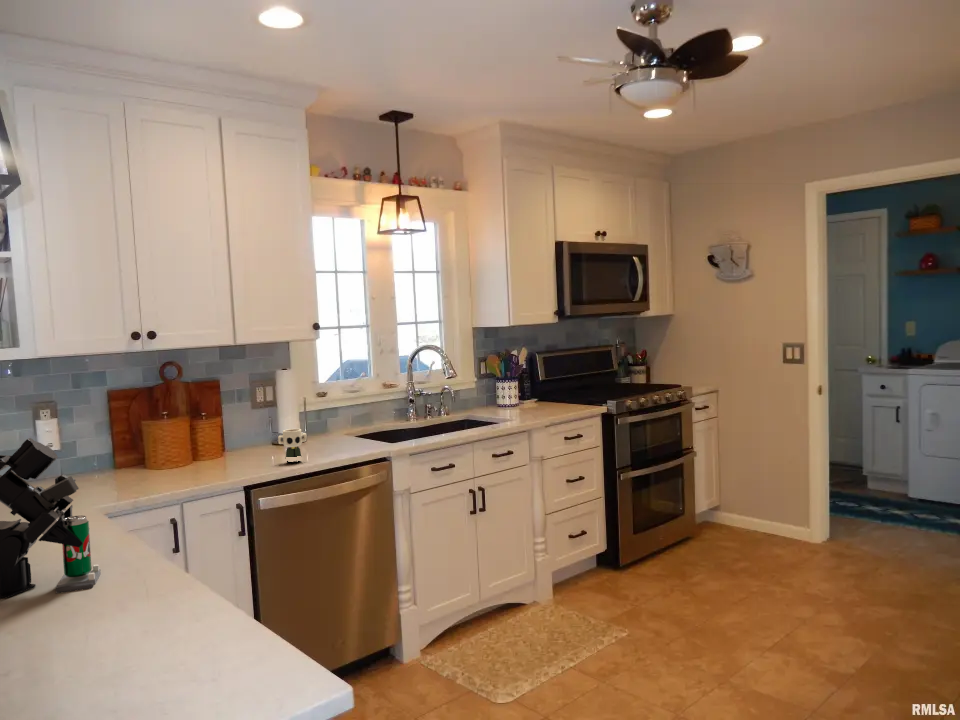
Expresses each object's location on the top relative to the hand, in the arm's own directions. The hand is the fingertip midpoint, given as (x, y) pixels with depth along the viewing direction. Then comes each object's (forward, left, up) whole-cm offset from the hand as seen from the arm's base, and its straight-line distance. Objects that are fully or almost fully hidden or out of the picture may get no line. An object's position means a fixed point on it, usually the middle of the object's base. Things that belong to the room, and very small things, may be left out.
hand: (83, 541), depth 149 cm
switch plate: (-1, +1, -8) cm, 8 cm away
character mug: (+124, +33, -9) cm, 128 cm away
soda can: (-1, +1, -7) cm, 7 cm away
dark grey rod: (-5, -2, -9) cm, 10 cm away
